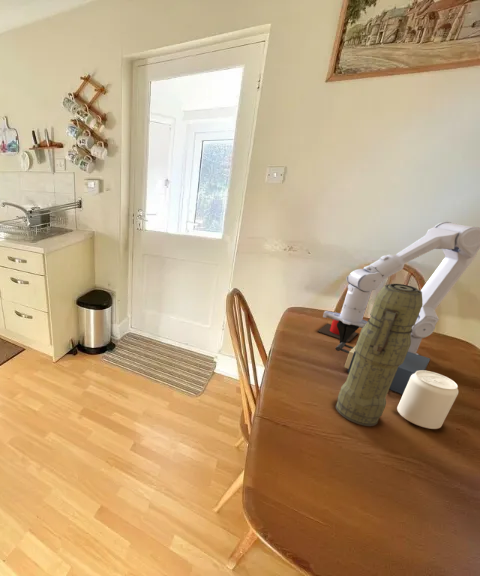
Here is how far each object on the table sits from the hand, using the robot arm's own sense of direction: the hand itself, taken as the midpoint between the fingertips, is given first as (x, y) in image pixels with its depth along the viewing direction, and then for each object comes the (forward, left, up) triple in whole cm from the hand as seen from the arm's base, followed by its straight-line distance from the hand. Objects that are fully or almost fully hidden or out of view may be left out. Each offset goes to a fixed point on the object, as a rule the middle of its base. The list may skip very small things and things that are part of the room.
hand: (342, 342), depth 105 cm
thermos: (+30, +13, -4) cm, 32 cm away
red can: (-15, -6, -3) cm, 17 cm away
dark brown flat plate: (-15, -5, -4) cm, 17 cm away
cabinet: (+5, +13, -4) cm, 14 cm away
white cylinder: (+20, +23, -4) cm, 30 cm away
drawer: (+5, +9, -3) cm, 10 cm away
